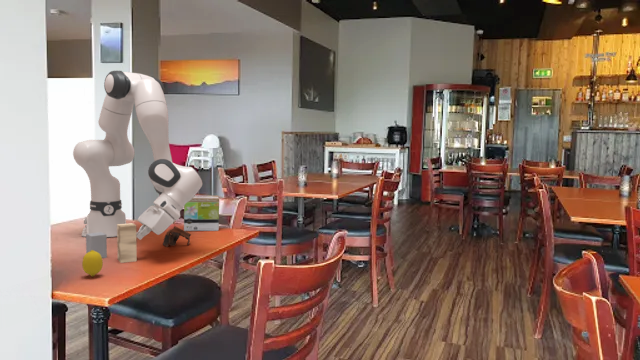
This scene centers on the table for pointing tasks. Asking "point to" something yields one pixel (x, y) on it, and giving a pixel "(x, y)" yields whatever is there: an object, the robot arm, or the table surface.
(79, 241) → the table surface
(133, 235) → the birch block
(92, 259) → the lemon
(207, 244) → the table surface
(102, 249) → the grey block
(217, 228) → the tea box
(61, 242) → the table surface
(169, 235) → the dark brown arched figure
